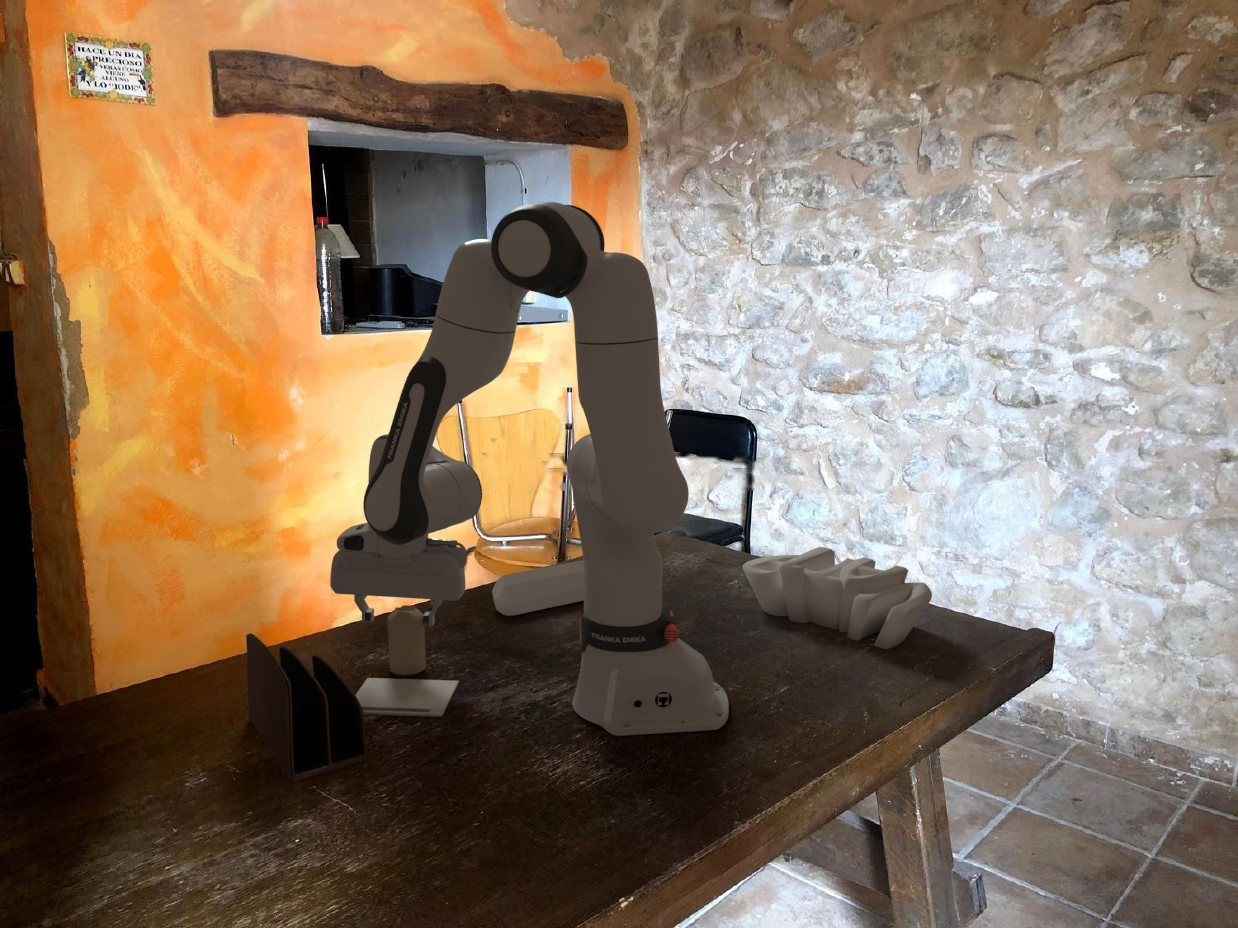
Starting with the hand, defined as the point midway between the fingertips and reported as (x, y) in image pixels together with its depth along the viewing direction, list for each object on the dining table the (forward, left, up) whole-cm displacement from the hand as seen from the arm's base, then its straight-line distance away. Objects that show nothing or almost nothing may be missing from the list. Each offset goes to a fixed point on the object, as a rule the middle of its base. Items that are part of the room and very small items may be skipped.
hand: (398, 622), depth 152 cm
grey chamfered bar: (-20, -31, -8) cm, 38 cm away
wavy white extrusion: (-71, -25, -8) cm, 76 cm away
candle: (-1, 0, -8) cm, 8 cm away
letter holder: (+6, +23, -8) cm, 25 cm away
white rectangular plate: (-3, +10, -8) cm, 13 cm away
